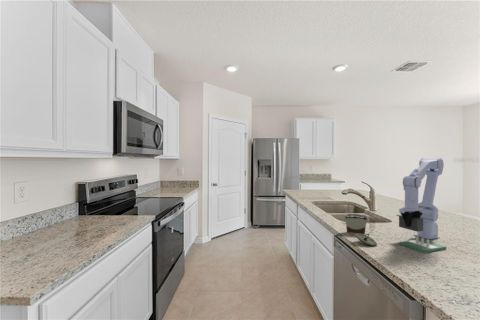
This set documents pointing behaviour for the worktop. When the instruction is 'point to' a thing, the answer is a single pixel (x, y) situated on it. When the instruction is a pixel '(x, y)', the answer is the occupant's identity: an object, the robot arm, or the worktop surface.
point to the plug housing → (412, 223)
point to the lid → (366, 239)
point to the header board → (422, 245)
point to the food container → (355, 223)
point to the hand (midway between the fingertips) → (411, 226)
